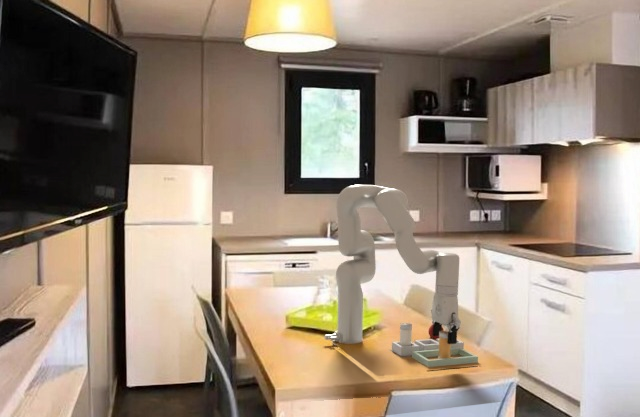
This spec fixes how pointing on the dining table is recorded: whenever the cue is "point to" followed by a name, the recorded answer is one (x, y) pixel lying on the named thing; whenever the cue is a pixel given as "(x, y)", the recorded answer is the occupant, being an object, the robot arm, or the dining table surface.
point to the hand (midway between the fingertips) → (444, 339)
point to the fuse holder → (420, 346)
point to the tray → (465, 359)
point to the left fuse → (405, 334)
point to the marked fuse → (444, 345)
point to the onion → (432, 332)
